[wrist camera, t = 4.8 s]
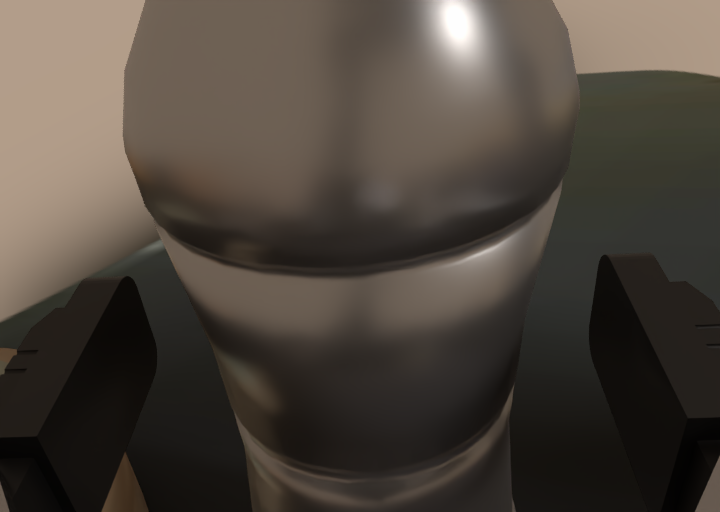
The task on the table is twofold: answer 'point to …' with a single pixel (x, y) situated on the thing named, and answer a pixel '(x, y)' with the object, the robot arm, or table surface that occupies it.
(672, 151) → the table surface
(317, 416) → the plastic bottle
